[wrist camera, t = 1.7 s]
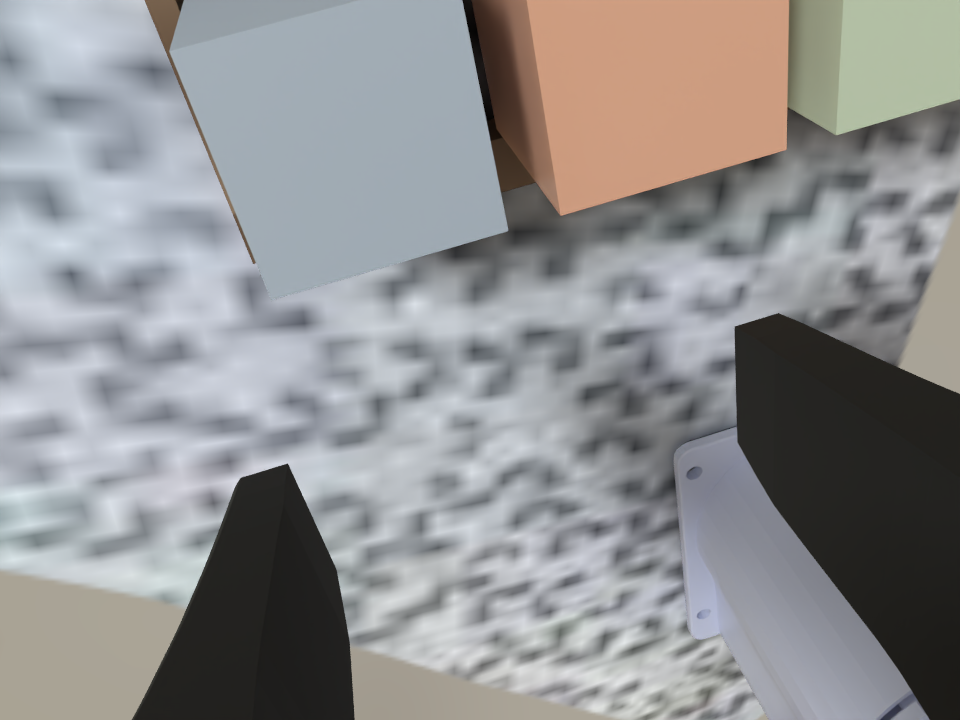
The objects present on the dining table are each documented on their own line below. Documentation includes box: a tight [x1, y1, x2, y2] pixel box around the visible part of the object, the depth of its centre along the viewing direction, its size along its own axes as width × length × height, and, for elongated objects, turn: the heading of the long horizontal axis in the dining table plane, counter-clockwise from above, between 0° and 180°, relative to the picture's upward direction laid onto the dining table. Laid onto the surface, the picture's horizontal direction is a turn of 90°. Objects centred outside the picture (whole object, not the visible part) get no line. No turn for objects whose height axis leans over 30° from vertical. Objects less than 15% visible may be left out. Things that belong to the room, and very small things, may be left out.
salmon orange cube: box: [472, 0, 789, 216], centre depth 15 cm, size 4×4×4 cm
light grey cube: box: [169, 0, 508, 300], centre depth 14 cm, size 4×4×4 cm
